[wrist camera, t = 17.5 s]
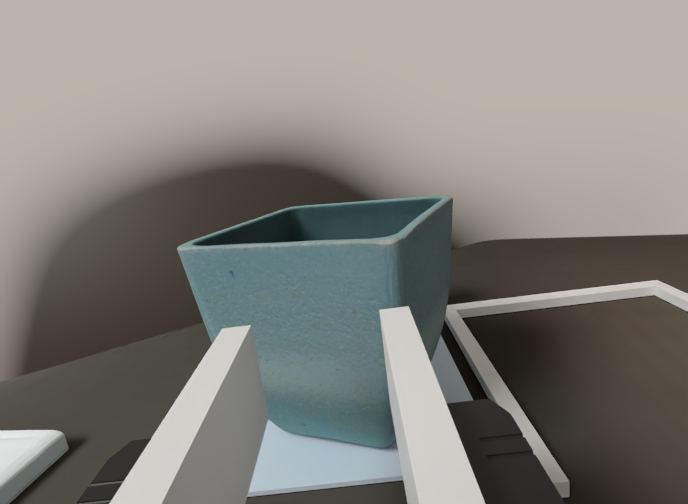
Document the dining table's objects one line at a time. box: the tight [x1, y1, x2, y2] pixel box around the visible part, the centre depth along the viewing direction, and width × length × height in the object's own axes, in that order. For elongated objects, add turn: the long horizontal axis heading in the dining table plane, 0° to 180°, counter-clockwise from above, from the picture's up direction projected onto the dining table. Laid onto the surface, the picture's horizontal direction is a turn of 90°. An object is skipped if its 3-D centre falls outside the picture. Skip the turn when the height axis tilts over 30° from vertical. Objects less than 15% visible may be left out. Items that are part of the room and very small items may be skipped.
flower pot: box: [177, 196, 453, 448], centre depth 20 cm, size 9×9×9 cm
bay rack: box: [247, 280, 688, 498], centre depth 22 cm, size 28×17×5 cm, turn 90°
